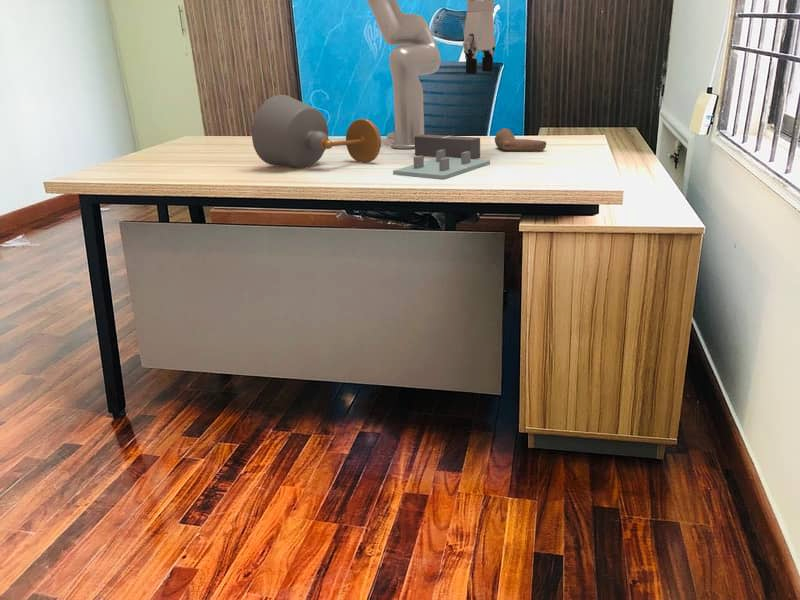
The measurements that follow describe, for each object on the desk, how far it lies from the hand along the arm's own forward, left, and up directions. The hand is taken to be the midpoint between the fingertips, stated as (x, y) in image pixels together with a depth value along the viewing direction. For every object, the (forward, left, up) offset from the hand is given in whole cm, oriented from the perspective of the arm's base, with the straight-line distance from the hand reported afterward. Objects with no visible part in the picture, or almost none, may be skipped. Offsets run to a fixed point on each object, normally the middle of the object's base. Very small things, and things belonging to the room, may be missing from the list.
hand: (479, 72), depth 200 cm
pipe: (+6, +15, -24) cm, 29 cm away
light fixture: (-34, -34, -24) cm, 54 cm away
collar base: (+1, -23, -24) cm, 33 cm away
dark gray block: (-9, -5, -24) cm, 26 cm away
